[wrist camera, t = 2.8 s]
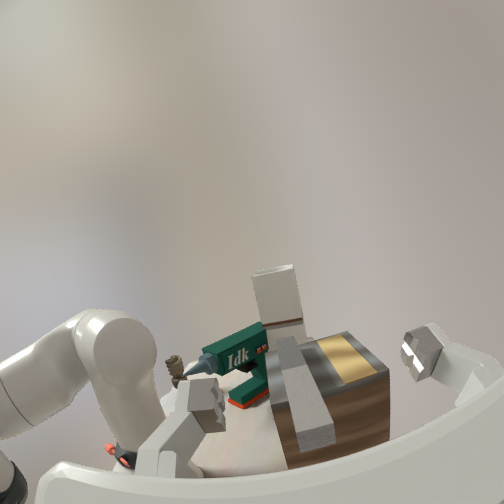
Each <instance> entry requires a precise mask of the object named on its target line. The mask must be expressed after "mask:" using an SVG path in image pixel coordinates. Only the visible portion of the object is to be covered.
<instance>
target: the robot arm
mask: <svg viewBox="0 0 504 504" xmlns="http://www.w3.org/2000/svg"><path fill="white" fill-rule="evenodd" d="M404 340H405V343H404V344H403V345H402V348H401V358H402V361H403V363H404V364H405V365H406V366H408V367H410V374H411V375H412V376H413V378H414V380H415V381H416V382H418V381H420V380H423V379H425V378H428V377H430V376H431V377H432V378H434V379H435V380H437V381H439V382H441V383H442V384H444V385H446V386H447V387H449V388H451V389H452V390H454V391H456V392H458V393H459V394H460V395H459V396H458V398H457V399H456V401H455V405H456V408H455V409H453V410H451V411H449V412H448V413H446V414H444V415H442V416H440V417H439V418H437V419H435V420H433V421H431V422H429V423H427V424H425V425H423V426H421V427H419V428H417V429H415V430H413V431H410V432H408V433H406V434H404V435H402V436H399V437H397V438H395V439H392V440H390V441H387V442H385V443H382V444H380V445H377V446H374V447H371V448H369V449H366V450H363V451H360V452H357V453H354V454H351V455H348V456H344V457H341V458H337V459H334V460H330V461H326V462H323V463H319V464H314V465H310V466H306V467H301V468H296V469H291V470H285V471H280V472H273V473H267V474H259V475H251V476H240V477H227V478H204V474H203V472H202V470H201V469H200V468H199V467H198V466H196V465H195V464H194V463H193V462H192V461H191V459H190V458H191V457H192V455H193V454H194V452H195V451H196V449H197V448H198V446H199V445H200V443H201V441H202V440H203V438H204V437H205V435H206V434H205V433H215V432H224V431H226V424H225V417H224V414H223V412H224V410H225V402H224V396H223V393H222V390H221V389H220V388H219V383H218V381H217V379H216V378H208V379H195V380H183V381H179V383H178V389H177V396H176V404H175V412H172V413H170V414H169V416H168V417H167V418H166V415H165V413H164V411H163V409H162V406H161V404H160V401H159V399H158V396H157V392H156V388H155V382H154V375H153V368H154V365H155V362H156V356H157V349H156V344H155V340H154V338H153V336H152V334H151V332H150V331H149V330H148V329H147V327H145V326H144V325H143V324H142V323H141V322H140V321H138V320H137V319H136V318H134V317H133V316H131V315H129V314H128V313H125V312H122V311H117V310H107V309H95V308H93V309H87V310H84V311H82V312H80V313H79V314H77V315H75V316H74V317H72V318H70V319H69V320H67V321H66V322H64V323H63V324H61V325H59V326H58V327H56V328H55V329H53V330H52V331H50V332H49V333H47V334H46V335H44V336H43V337H42V338H40V339H39V340H37V341H36V342H34V343H33V344H31V345H30V346H28V347H26V348H24V349H23V350H21V351H19V352H17V353H16V354H14V355H13V356H11V357H9V358H7V359H6V360H4V361H2V362H0V440H4V439H8V438H11V437H15V436H17V435H20V434H22V433H24V432H26V431H28V430H30V429H32V428H33V427H35V426H37V425H38V424H40V423H42V422H43V421H45V420H47V419H48V418H50V417H51V416H53V415H55V414H56V413H58V412H59V411H61V410H63V409H64V408H66V407H68V406H69V405H70V403H72V401H73V399H74V397H75V396H76V394H77V393H78V392H79V391H80V390H81V389H82V388H83V387H84V386H85V385H86V384H87V383H88V382H89V381H90V380H91V383H92V385H93V388H94V391H95V394H96V396H97V400H98V402H99V405H100V410H101V412H102V414H103V416H104V418H105V420H106V422H107V424H108V426H109V428H110V429H111V431H112V433H113V435H114V437H115V439H116V440H117V445H116V448H115V447H114V446H113V445H112V444H110V443H108V444H106V445H105V450H106V451H107V452H108V453H109V454H110V455H115V458H116V459H117V463H116V464H115V466H114V468H113V470H112V471H106V470H101V469H96V468H92V467H87V466H83V465H79V464H75V463H71V462H67V461H61V462H59V463H58V464H56V465H55V466H53V467H52V468H51V469H50V470H49V471H47V472H46V473H45V474H44V475H43V476H42V477H41V479H40V481H39V484H38V487H37V492H36V497H35V503H34V504H504V369H503V368H502V366H501V365H500V364H499V363H498V362H497V360H496V359H495V358H494V357H493V356H491V355H488V354H485V353H483V352H480V351H477V350H475V349H472V348H469V347H467V346H464V345H461V344H459V343H456V342H455V343H452V342H451V340H450V339H449V338H448V337H447V336H446V335H445V333H444V332H443V331H442V330H441V329H440V328H439V327H438V326H437V324H435V323H434V322H433V323H430V324H427V325H425V326H422V327H419V328H417V329H414V330H412V331H409V332H406V334H405V336H404ZM27 495H28V489H27V482H26V479H25V478H24V476H23V475H22V473H21V472H20V470H19V469H18V468H17V466H16V465H15V464H14V462H12V461H11V460H9V459H8V457H7V456H6V455H5V453H4V452H3V451H2V449H1V448H0V504H24V503H25V502H26V499H27Z"/></svg>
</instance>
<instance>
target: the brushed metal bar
mask: <svg viewBox="0 0 504 504" xmlns="http://www.w3.org/2000/svg"><path fill="white" fill-rule="evenodd" d="M275 344H276V349H277V353H278V357H279V362H280V366H281V370H282V375H283V379H284V383H285V387H286V392H287V396H288V400H289V405H290V409H291V413H292V418H293V422H294V426H295V431H296V435H297V439H298V444H299V448H300V452H301V453H302V452H306V451H310V450H314V449H318V448H321V447H325V446H328V445H332V444H335V443H336V437H335V429H334V422H333V420H332V418H331V416H330V414H329V411H328V409H327V407H326V405H325V403H324V400H323V398H322V396H321V394H320V392H319V390H318V387H317V385H316V383H315V381H314V379H313V376H312V374H311V372H310V370H309V368H308V366H307V363H306V361H305V359H304V357H303V355H302V353H301V350H300V348H299V346H298V344H297V342H296V339H295V337H294V336H290V337H286V338H282V339H278V340H275Z"/></svg>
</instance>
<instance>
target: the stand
mask: <svg viewBox="0 0 504 504" xmlns="http://www.w3.org/2000/svg"><path fill="white" fill-rule="evenodd" d="M298 346H299V348H300V350H301V353H302V355H303V357H304V359H305V361H306V363H307V366H308V368H309V370H310V372H311V374H312V376H313V379H314V381H315V383H316V385H317V387H318V390H319V392H320V394H321V396H322V398H323V400H324V403H325V405H326V407H327V409H328V411H329V414H330V416H331V418H332V420H333V422H334V429H335V437H336V443H335V444H332V445H328V446H325V447H321V448H318V449H314V450H310V451H306V452H302V453H301V452H300V448H299V444H298V439H297V435H296V431H295V426H294V422H293V418H292V413H291V409H290V405H289V400H288V396H287V392H286V387H285V383H284V379H283V375H282V370H281V366H280V362H279V357H278V353H277V350H275V351H270V352H266V353H265V359H266V368H267V377H268V386H269V394H270V403H271V408H272V412H273V415H274V419H275V423H276V426H277V430H278V434H279V437H280V441H281V444H282V448H283V452H284V455H285V459H286V462H287V466H288V469H289V470H291V469H296V468H301V467H306V466H310V465H314V464H319V463H323V462H326V461H330V460H334V459H337V458H341V457H344V456H348V455H351V454H354V453H357V452H360V451H363V450H366V449H369V448H371V447H374V446H377V445H380V444H382V443H385V442H387V441H389V438H390V435H389V434H390V375H389V368H387V367H386V366H385V365H384V364H383V363H382V362H381V361H380V360H379V359H378V358H376V357H375V356H374V355H373V354H372V353H371V352H370V351H369V350H368V349H366V348H365V347H364V346H363V345H362V344H361V343H360V342H359V341H358V340H356V339H355V338H354V337H353V336H352V335H351V334H349V332H348V331H346V332H342V333H339V334H336V335H332V336H329V337H325V338H322V339H318V340H314V341H311V342H307V343H303V344H299V345H298Z"/></svg>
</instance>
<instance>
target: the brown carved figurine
mask: <svg viewBox="0 0 504 504" xmlns="http://www.w3.org/2000/svg"><path fill="white" fill-rule="evenodd" d="M165 363H166V364H167V367H168V371H170V375H173V378H172V379H171V380H172V383H173V386H174V387H175V388H176V389H178V383H179V381H183V380H187V377H186V376H183V377H181V376H182V375H183V372H184V367H183V365H182V364H183V362H182V359H181V357H180V356H178V355H174V356H171V359H168V360H166V361H165Z"/></svg>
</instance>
